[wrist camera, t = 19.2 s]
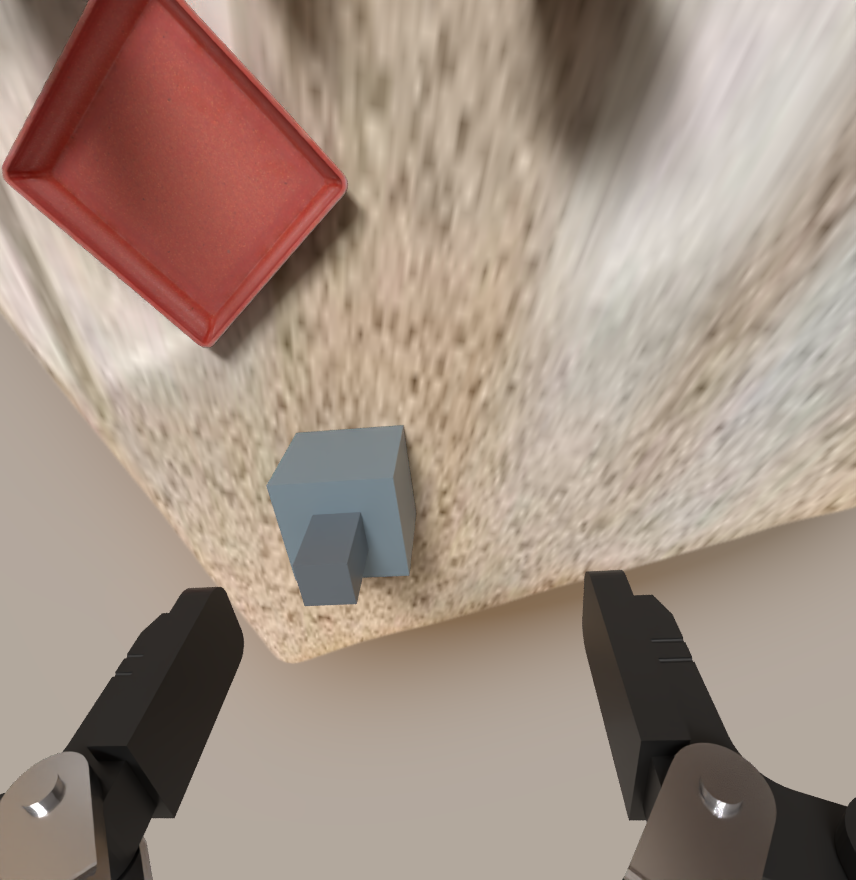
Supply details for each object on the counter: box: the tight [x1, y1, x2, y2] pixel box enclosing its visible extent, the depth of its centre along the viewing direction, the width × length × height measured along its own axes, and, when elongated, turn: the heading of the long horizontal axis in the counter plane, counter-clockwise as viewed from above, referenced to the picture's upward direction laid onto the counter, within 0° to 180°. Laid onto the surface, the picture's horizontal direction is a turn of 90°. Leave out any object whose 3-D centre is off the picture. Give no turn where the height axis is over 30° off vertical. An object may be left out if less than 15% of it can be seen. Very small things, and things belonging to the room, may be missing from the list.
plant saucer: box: [2, 0, 348, 347], centre depth 38 cm, size 18×18×3 cm
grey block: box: [267, 425, 416, 606], centre depth 44 cm, size 10×10×15 cm
